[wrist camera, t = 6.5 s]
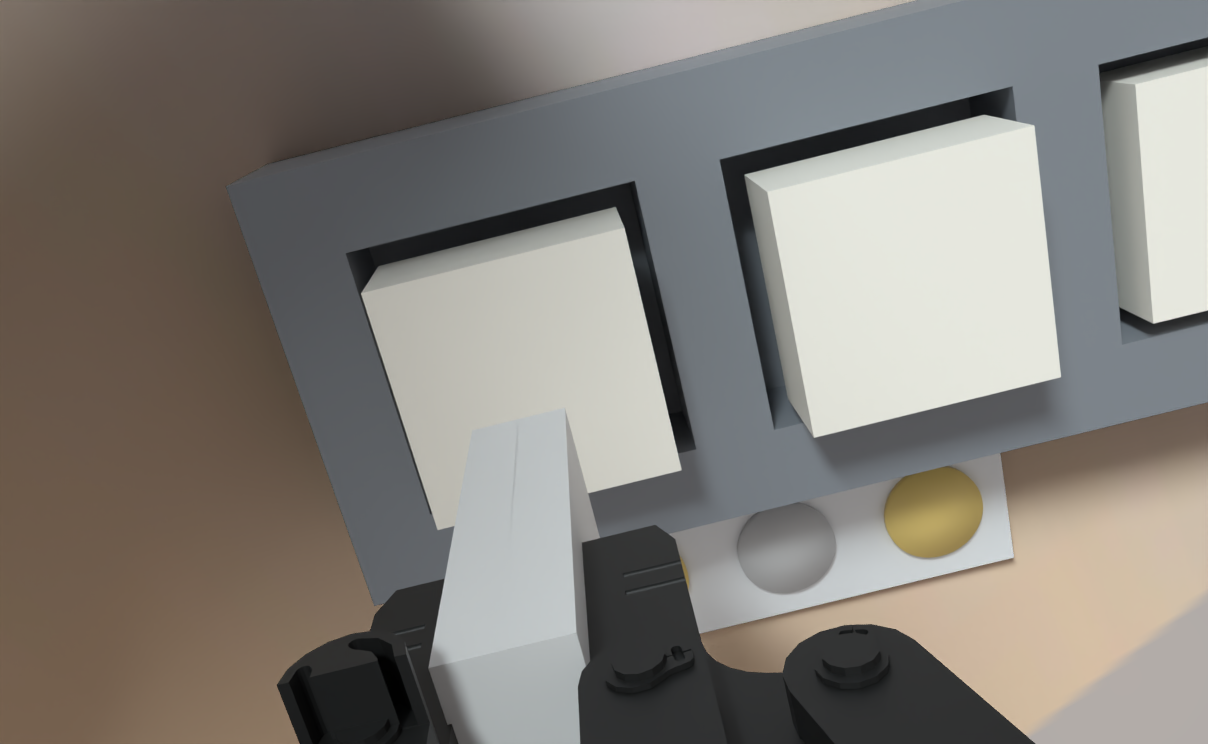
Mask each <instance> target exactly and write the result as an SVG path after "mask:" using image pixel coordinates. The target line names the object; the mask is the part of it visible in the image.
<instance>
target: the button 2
mask: <svg viewBox="0 0 1208 744" xmlns="http://www.w3.org/2000/svg"><path fill="white" fill-rule="evenodd" d="M744 177H745V182H746V187H747V192H748V197H749V202H750V208H751V213H752V218H753V223H754V228H755V233H756V238H757V243H758V248H759V253H760V259H761V264H762V269H763V274H764V279H765V284H766V289H767V294H768V299H769V305H770V310H771V315H772V320H773V325H774V330H775V335H776V340H777V345H778V351H779V356H780V361H781V366H782V371H783V376H784V381H785V386H786V391H787V396H788V400H789V401H790V403H791V404H792V406H793V407H794V409H795V410H796V412H797V413H798V415H799V416H800V418H801V419H802V421H803V422H804V424H805V425H806V427H807V428H808V430H809V431H810V433H811V434H812V436H813V437H814V438H815V437H819V436H824V435H828V434H832V433H836V432H840V431H844V430H848V429H852V428H856V427H860V426H864V425H868V424H872V423H877V422H881V421H885V420H889V419H893V418H897V417H901V416H905V415H909V414H913V413H917V412H921V411H925V410H930V409H934V408H938V407H942V406H946V405H950V404H954V403H958V402H962V401H966V400H970V399H974V398H978V397H983V396H987V395H991V394H995V393H999V392H1003V391H1007V390H1011V389H1015V388H1019V387H1023V386H1027V385H1031V384H1035V383H1040V382H1044V381H1048V380H1052V379H1056V378H1060V377H1061V371H1060V362H1059V352H1058V343H1057V333H1056V324H1055V314H1054V305H1053V296H1052V286H1051V277H1050V267H1049V258H1048V248H1047V239H1046V230H1045V220H1044V211H1043V201H1042V192H1041V182H1040V173H1039V164H1038V154H1037V145H1036V135H1035V126H1034V125H1030V124H1026V123H1021V122H1016V121H1012V120H1007V119H1002V118H997V117H993V116H988V115H981V116H977V117H973V118H969V119H965V120H961V121H957V122H953V123H949V124H945V125H941V126H937V127H933V128H929V129H925V130H921V131H917V132H913V133H909V134H905V135H901V136H897V137H893V138H889V139H885V140H881V141H877V142H873V143H869V144H865V145H861V146H857V147H853V148H849V149H845V150H841V151H837V152H833V153H829V154H825V155H821V156H817V157H813V158H809V159H805V160H801V161H797V162H793V163H789V164H785V165H781V166H777V167H773V168H769V169H765V170H761V171H757V172H753V173H749V174H745V175H744Z"/></svg>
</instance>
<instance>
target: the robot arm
mask: <svg viewBox="0 0 1208 744" xmlns="http://www.w3.org/2000/svg"><path fill="white" fill-rule="evenodd" d="M277 687H278V690H279V692H280V695H281V697H282V700H283V702H284V705H285V707H286V710H287V712H288V715H289V717H290V720H291V723H292V725H293V728H294V730H295V733H296V735H297V738H298V740H299V743H300V744H1035V743H1034V742H1033V741H1032V740H1030V739H1029V738H1028V737H1027V736H1026V735H1025V734H1023V733H1022V732H1021V731H1020V730H1019V729H1018V728H1016V727H1015V726H1014V725H1013V724H1012V723H1011V722H1009V721H1008V720H1007V719H1006V718H1005V717H1004V716H1002V715H1001V714H1000V713H999V712H998V711H997V710H995V709H994V708H993V707H992V706H991V705H990V704H989V703H987V702H986V701H985V700H984V699H983V698H982V697H980V696H979V695H978V694H977V693H976V692H975V691H973V690H972V689H971V688H970V687H969V686H968V685H966V684H965V683H964V682H963V681H962V680H961V679H959V678H958V677H957V676H956V675H955V674H954V673H952V672H951V671H950V670H949V669H948V668H947V667H945V666H944V665H943V664H942V663H941V662H940V661H939V660H937V659H936V658H935V657H934V656H933V655H932V654H930V653H929V652H928V651H927V650H926V649H925V648H923V647H922V646H921V645H920V644H919V643H918V642H916V641H915V640H914V639H912V638H910V637H908V636H907V635H905V634H903V633H901V632H899V631H898V630H896V629H891V628H887V627H882V626H877V625H872V624H868V625H844V626H840V627H837V628H833V629H829V630H825V631H821V632H819V633H817V634H815V635H813V636H812V637H810V638H808V639H806V640H804V641H803V642H801V643H799V644H798V645H797V646H796V648H795V649H794V650H793V651H792V652H791V653H790V654H789V655H788V657H787V658H786V661H785V665H784V670H783V673H758V672H746V671H741V670H737V669H733V668H729V667H727V666H725V665H723V664H721V663H719V662H717V661H716V660H714V659H713V658H712V657H711V656H710V655H709V654H708V653H707V652H706V650H705V648H704V646H703V644H702V642H701V638H700V634H699V630H698V626H697V622H696V618H695V614H694V610H693V606H692V603H691V599H690V595H689V591H688V587H687V583H686V579H685V575H684V571H683V567H682V563H681V559H680V555H679V552H678V548H677V544H676V540H675V538H673V537H672V536H670V535H669V534H668V533H666V532H665V531H663V530H662V529H661V528H659V527H658V526H656V525H652V526H648V527H644V528H640V529H636V530H631V531H627V532H623V533H619V534H615V535H611V536H607V537H603V538H600V536H599V533H598V529H597V525H596V521H595V518H594V514H593V510H592V507H591V503H590V499H589V495H588V492H587V488H586V484H585V480H584V477H583V473H582V469H581V466H580V462H579V458H578V454H577V451H576V447H575V443H574V440H573V436H572V432H571V428H570V425H569V421H568V417H567V413H566V410H565V408H562V409H557V410H553V411H549V412H545V413H541V414H537V415H533V416H529V417H525V418H521V419H517V420H513V421H509V422H504V423H500V424H496V425H492V426H488V427H484V428H480V429H476V430H472V434H471V439H470V445H469V450H468V456H467V461H466V467H465V472H464V477H463V483H462V488H461V494H460V499H459V505H458V510H457V515H456V521H455V526H454V532H453V537H452V542H451V548H450V553H449V559H448V564H447V570H446V575H445V579H441V580H437V581H433V582H429V583H424V584H420V585H416V586H412V587H408V588H404V589H400V590H396V591H395V592H394V593H393V595H392V596H391V597H390V598H389V599H388V600H387V601H386V603H385V604H384V605H383V606H382V607H381V608H380V609H379V610H378V612H377V613H376V614H375V616H374V620H373V623H372V626H371V630H370V631H369V632H361V633H354V634H350V635H347V636H345V637H342V638H339V639H336V640H333V641H330V642H327V643H326V644H324V645H322V646H320V647H318V648H317V649H315V650H313V651H311V652H309V653H307V654H306V655H304V656H303V657H302V658H301V659H300V660H298V661H297V662H296V663H295V664H294V665H292V666H291V667H290V668H289V669H288V670H287V671H286V672H285V674H284V675H283V677H282V678H281V680H280V681H279V683H278V684H277Z"/></svg>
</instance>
